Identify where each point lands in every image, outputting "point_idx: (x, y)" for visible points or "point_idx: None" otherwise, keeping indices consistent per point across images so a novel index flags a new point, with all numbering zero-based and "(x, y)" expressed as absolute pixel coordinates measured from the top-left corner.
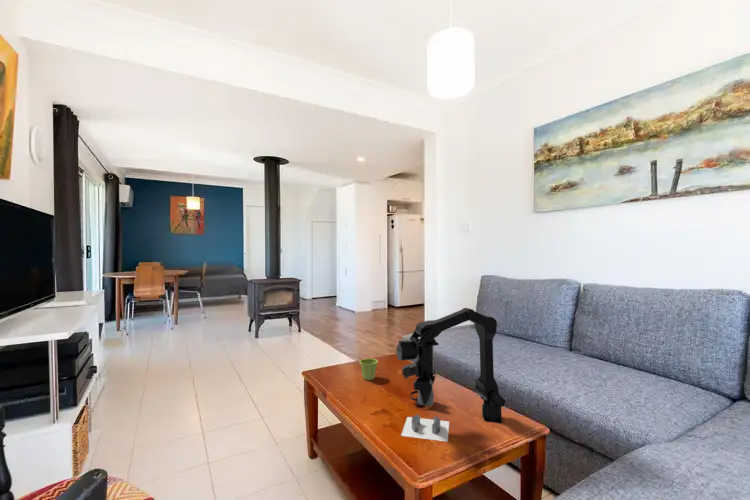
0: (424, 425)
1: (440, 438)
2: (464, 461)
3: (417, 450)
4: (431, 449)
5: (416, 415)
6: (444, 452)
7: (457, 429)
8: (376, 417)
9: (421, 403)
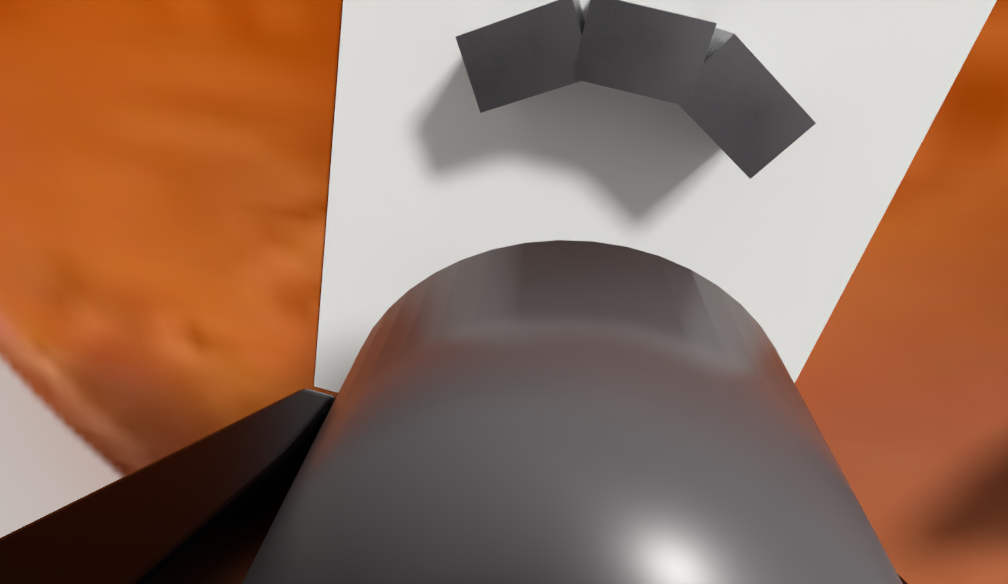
0: (663, 202)
1: (361, 334)
2: (83, 432)
3: (104, 38)
4: (168, 204)
5: (770, 111)
6: (155, 316)
7: None
8: None
9: (365, 342)
